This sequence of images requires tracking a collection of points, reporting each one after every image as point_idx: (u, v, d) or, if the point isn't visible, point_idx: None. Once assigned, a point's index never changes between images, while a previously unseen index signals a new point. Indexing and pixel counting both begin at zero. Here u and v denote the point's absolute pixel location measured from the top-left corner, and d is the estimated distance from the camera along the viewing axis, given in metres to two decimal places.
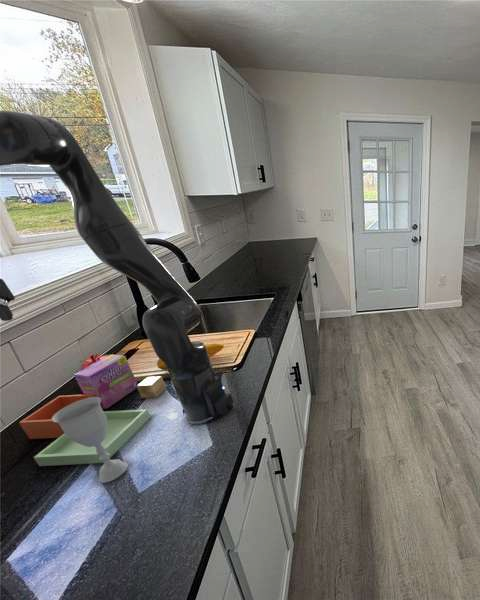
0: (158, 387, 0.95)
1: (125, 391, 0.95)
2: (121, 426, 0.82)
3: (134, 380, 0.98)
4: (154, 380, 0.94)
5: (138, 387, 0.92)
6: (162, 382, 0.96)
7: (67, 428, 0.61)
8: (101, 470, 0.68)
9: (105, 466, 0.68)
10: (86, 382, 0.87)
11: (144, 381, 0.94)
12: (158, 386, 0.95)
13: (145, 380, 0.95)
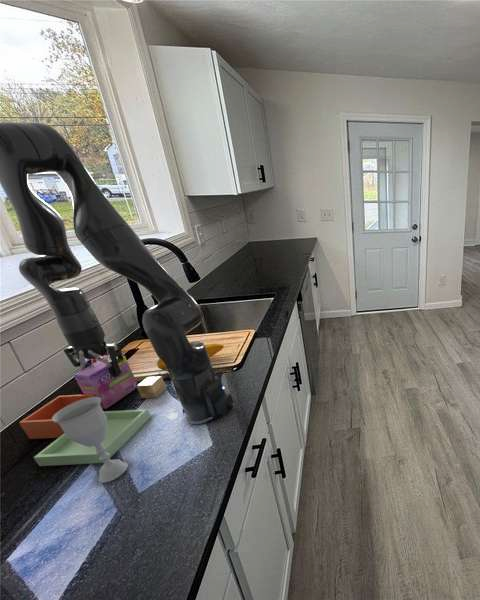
0: (158, 387, 0.95)
1: (125, 391, 0.95)
2: (121, 426, 0.82)
3: (134, 380, 0.98)
4: (154, 380, 0.94)
5: (138, 387, 0.92)
6: (162, 382, 0.96)
7: (67, 428, 0.61)
8: (101, 470, 0.68)
9: (105, 466, 0.68)
10: (86, 382, 0.87)
11: (144, 381, 0.94)
12: (158, 386, 0.95)
13: (145, 380, 0.95)
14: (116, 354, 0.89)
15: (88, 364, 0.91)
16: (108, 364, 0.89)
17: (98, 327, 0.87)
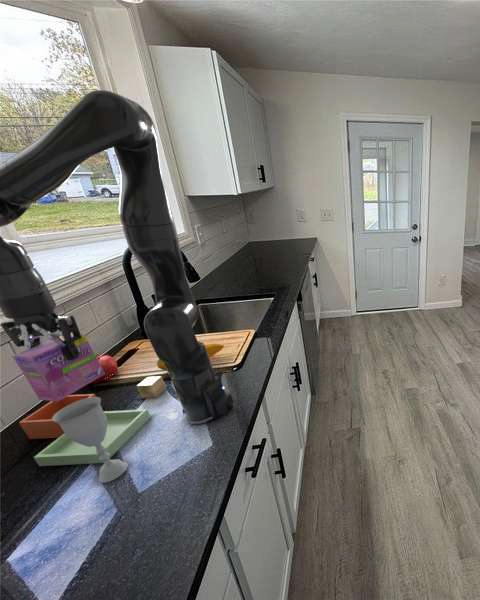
0: (158, 387, 0.95)
1: (85, 379, 0.75)
2: (121, 426, 0.82)
3: (98, 365, 0.77)
4: (154, 380, 0.94)
5: (138, 387, 0.92)
6: (162, 382, 0.96)
7: (67, 428, 0.61)
8: (101, 470, 0.68)
9: (105, 466, 0.68)
10: (29, 367, 0.66)
11: (144, 381, 0.94)
12: (158, 386, 0.95)
13: (145, 380, 0.95)
14: (70, 330, 0.68)
15: (35, 343, 0.70)
16: (60, 343, 0.69)
17: (46, 295, 0.67)
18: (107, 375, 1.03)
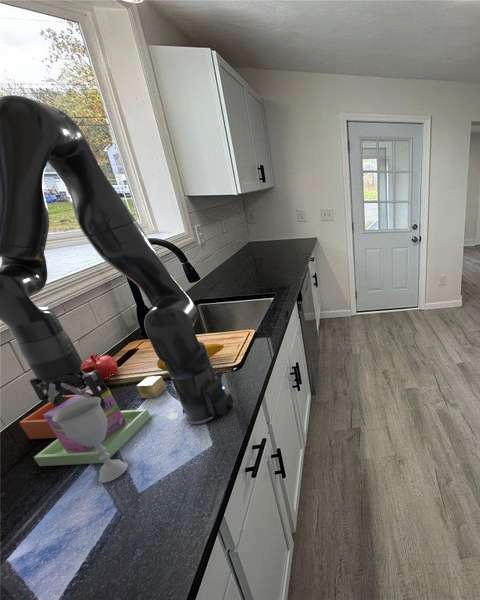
0: (158, 387, 0.95)
1: (109, 430, 0.79)
2: (121, 426, 0.82)
3: (120, 416, 0.82)
4: (154, 380, 0.94)
5: (138, 387, 0.92)
6: (162, 382, 0.96)
7: (67, 428, 0.61)
8: (101, 470, 0.68)
9: (105, 466, 0.68)
10: (59, 424, 0.71)
11: (144, 381, 0.94)
12: (158, 386, 0.95)
13: (145, 380, 0.95)
14: (97, 384, 0.72)
15: (58, 397, 0.74)
16: (89, 397, 0.73)
17: (74, 355, 0.71)
18: (107, 375, 1.03)
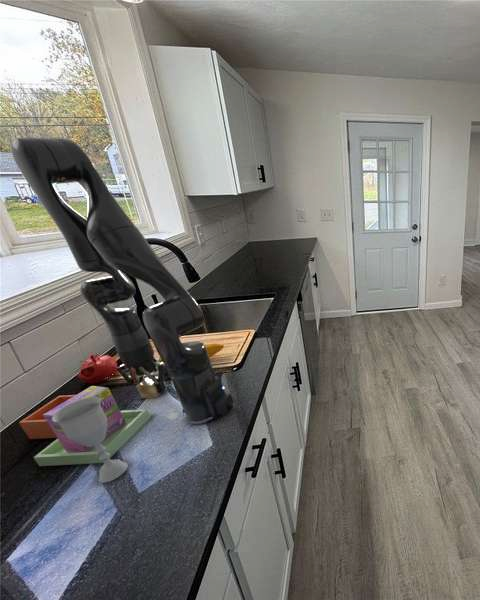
0: None
1: (109, 430, 0.79)
2: (121, 426, 0.82)
3: (120, 416, 0.82)
4: None
5: (138, 387, 0.92)
6: None
7: (67, 428, 0.61)
8: (101, 470, 0.68)
9: (105, 466, 0.68)
10: (59, 424, 0.71)
11: (144, 381, 0.94)
12: None
13: (145, 380, 0.95)
14: (164, 372, 0.93)
15: (141, 381, 0.94)
16: (155, 381, 0.93)
17: (149, 345, 0.91)
18: (107, 375, 1.03)
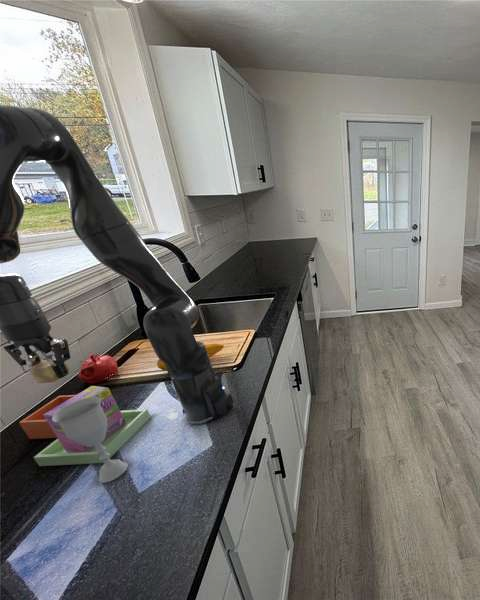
0: None
1: (109, 430, 0.79)
2: (121, 426, 0.82)
3: (120, 416, 0.82)
4: None
5: (31, 370, 0.78)
6: None
7: (67, 428, 0.61)
8: (101, 470, 0.68)
9: (105, 466, 0.68)
10: (59, 424, 0.71)
11: (40, 363, 0.80)
12: None
13: (42, 362, 0.80)
14: (62, 352, 0.78)
15: (36, 362, 0.80)
16: (51, 363, 0.78)
17: (42, 320, 0.76)
18: (107, 375, 1.03)
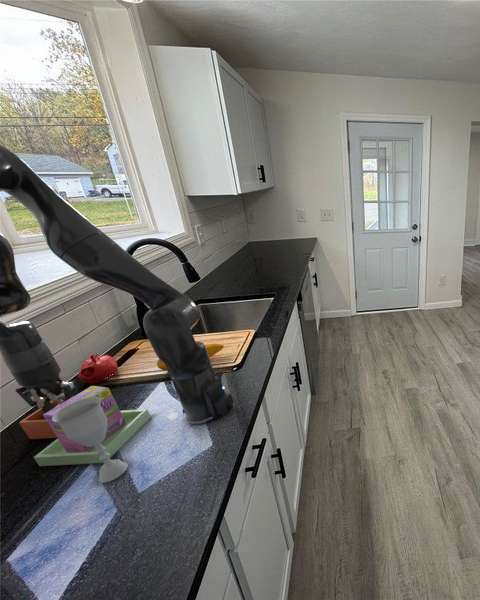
0: None
1: (109, 430, 0.79)
2: (121, 426, 0.82)
3: (120, 416, 0.82)
4: None
5: None
6: None
7: (67, 428, 0.61)
8: (101, 470, 0.68)
9: (105, 466, 0.68)
10: (59, 424, 0.71)
11: None
12: None
13: None
14: (72, 393, 0.81)
15: (46, 403, 0.83)
16: None
17: (52, 363, 0.79)
18: (107, 375, 1.03)
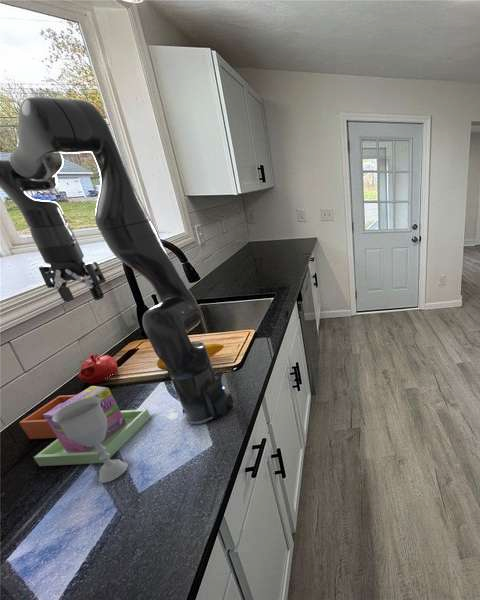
0: None
1: (109, 430, 0.79)
2: (121, 426, 0.82)
3: (120, 416, 0.82)
4: None
5: None
6: None
7: (67, 428, 0.61)
8: (101, 470, 0.68)
9: (105, 466, 0.68)
10: (59, 424, 0.71)
11: None
12: None
13: None
14: (96, 273, 0.85)
15: (62, 286, 0.87)
16: (89, 284, 0.85)
17: (76, 246, 0.84)
18: (107, 375, 1.03)
